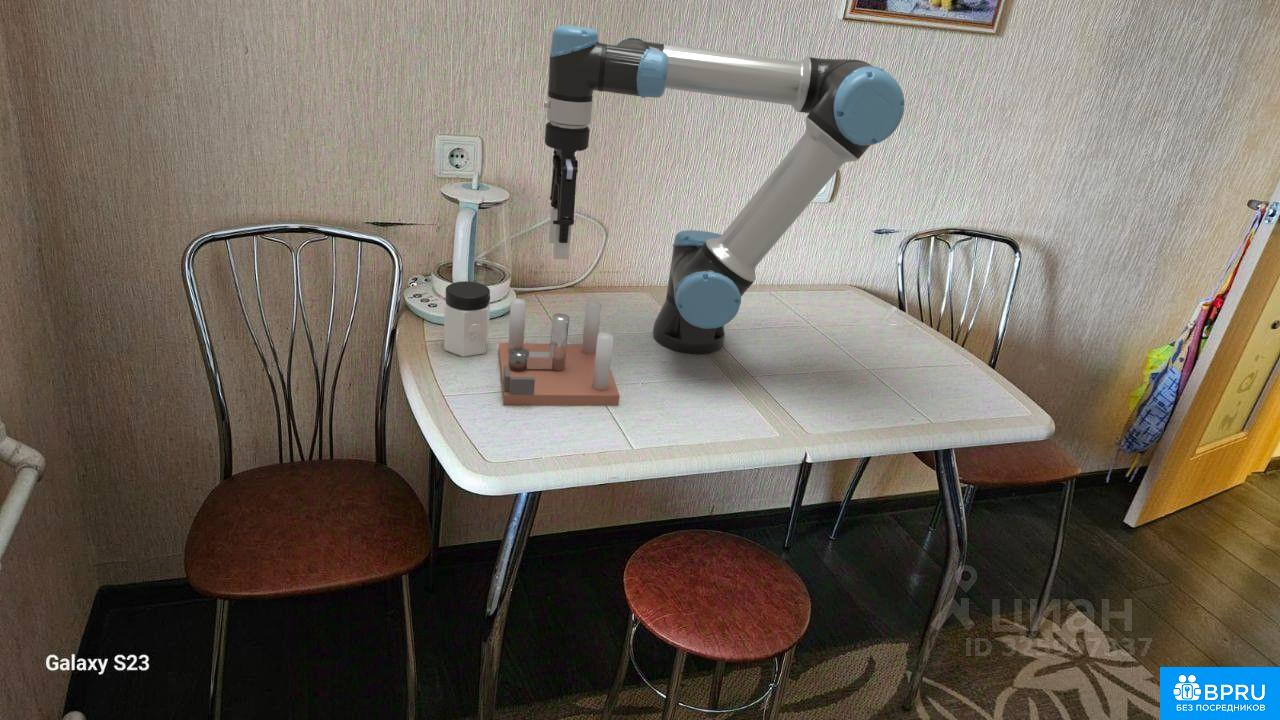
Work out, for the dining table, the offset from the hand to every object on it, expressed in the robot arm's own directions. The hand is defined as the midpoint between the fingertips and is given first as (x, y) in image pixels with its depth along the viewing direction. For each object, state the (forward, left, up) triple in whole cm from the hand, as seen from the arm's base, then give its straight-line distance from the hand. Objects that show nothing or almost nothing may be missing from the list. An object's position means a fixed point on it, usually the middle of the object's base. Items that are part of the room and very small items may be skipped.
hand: (558, 250), depth 149 cm
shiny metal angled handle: (+4, +10, -19) cm, 22 cm away
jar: (+16, -2, -21) cm, 27 cm away
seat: (0, +10, -21) cm, 23 cm away
